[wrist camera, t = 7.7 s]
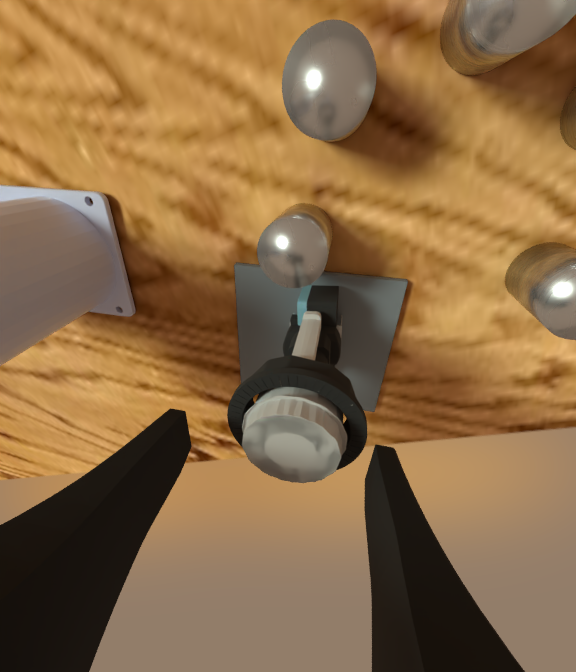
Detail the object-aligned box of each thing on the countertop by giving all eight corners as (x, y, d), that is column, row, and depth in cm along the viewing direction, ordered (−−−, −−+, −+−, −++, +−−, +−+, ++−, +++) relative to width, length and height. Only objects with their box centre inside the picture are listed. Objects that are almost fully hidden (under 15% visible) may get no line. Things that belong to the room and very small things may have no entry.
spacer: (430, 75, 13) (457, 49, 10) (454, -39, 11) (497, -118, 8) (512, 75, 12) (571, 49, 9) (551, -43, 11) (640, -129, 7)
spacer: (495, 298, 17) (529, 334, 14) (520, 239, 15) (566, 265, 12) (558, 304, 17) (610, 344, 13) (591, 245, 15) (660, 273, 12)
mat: (243, 387, 24) (241, 391, 24) (236, 262, 19) (234, 264, 18) (374, 408, 23) (374, 411, 22) (406, 279, 17) (407, 281, 17)
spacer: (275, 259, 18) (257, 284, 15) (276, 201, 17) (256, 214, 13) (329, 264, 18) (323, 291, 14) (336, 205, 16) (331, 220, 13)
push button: (357, 373, 21) (359, 525, 12) (280, 367, 22) (233, 505, 13) (365, 279, 17) (375, 401, 9) (273, 277, 18) (205, 386, 10)
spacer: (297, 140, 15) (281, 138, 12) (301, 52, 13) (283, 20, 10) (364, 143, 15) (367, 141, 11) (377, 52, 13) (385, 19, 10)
